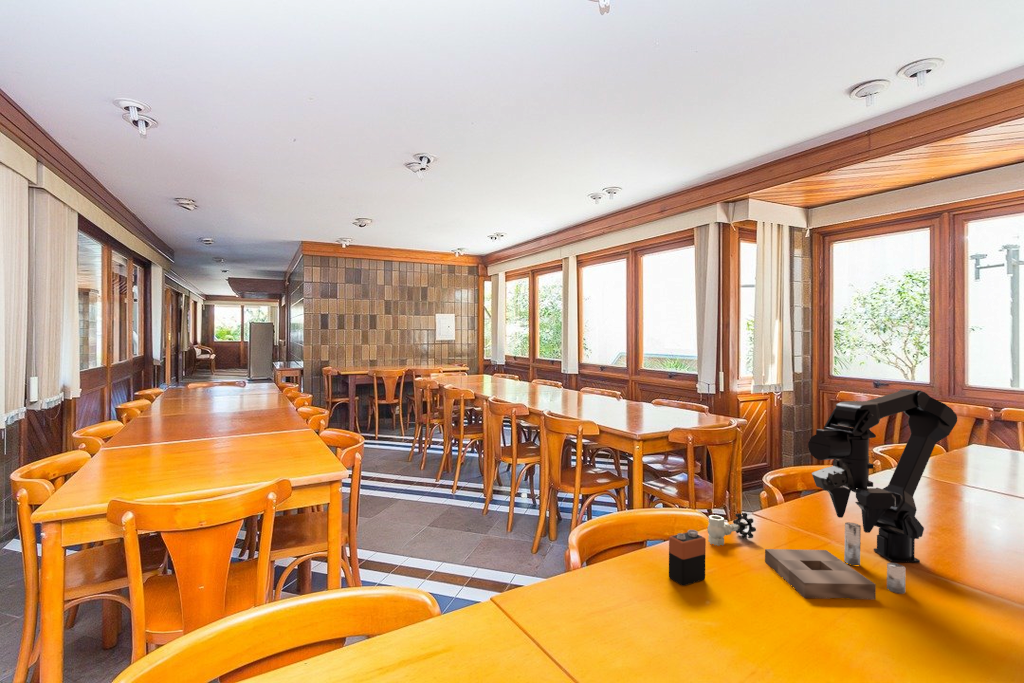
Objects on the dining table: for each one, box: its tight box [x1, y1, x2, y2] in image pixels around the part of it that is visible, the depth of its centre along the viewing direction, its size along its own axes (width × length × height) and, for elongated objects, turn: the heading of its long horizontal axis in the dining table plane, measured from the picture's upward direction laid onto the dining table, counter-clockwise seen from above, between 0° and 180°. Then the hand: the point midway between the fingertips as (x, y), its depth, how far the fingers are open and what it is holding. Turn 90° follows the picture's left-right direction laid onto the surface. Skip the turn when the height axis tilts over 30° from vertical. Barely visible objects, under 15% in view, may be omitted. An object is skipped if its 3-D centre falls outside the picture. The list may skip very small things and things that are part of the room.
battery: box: [668, 529, 707, 587], centre depth 106 cm, size 4×7×10 cm, turn 117°
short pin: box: [886, 562, 906, 595], centre depth 102 cm, size 3×3×5 cm
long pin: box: [843, 521, 862, 566], centre depth 114 cm, size 3×3×9 cm
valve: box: [707, 512, 757, 547], centre depth 126 cm, size 7×7×12 cm
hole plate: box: [764, 548, 877, 600], centre depth 106 cm, size 14×16×3 cm
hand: (853, 524), depth 114 cm, fingers open, 9 cm apart
